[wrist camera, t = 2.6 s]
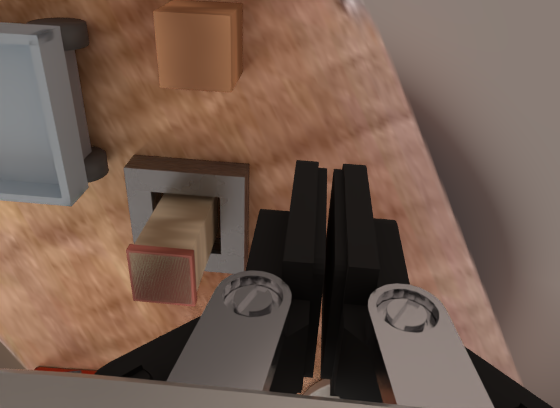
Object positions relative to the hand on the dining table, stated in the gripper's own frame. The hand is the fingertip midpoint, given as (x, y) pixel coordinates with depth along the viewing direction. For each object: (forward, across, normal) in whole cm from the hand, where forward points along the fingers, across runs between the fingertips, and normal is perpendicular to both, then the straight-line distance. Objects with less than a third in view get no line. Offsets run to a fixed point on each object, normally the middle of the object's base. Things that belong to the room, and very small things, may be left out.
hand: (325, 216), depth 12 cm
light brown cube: (+20, +7, 0) cm, 21 cm away
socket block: (+19, +9, +13) cm, 25 cm away
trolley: (+20, +20, +5) cm, 28 cm away
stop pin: (+20, +9, +13) cm, 25 cm away
